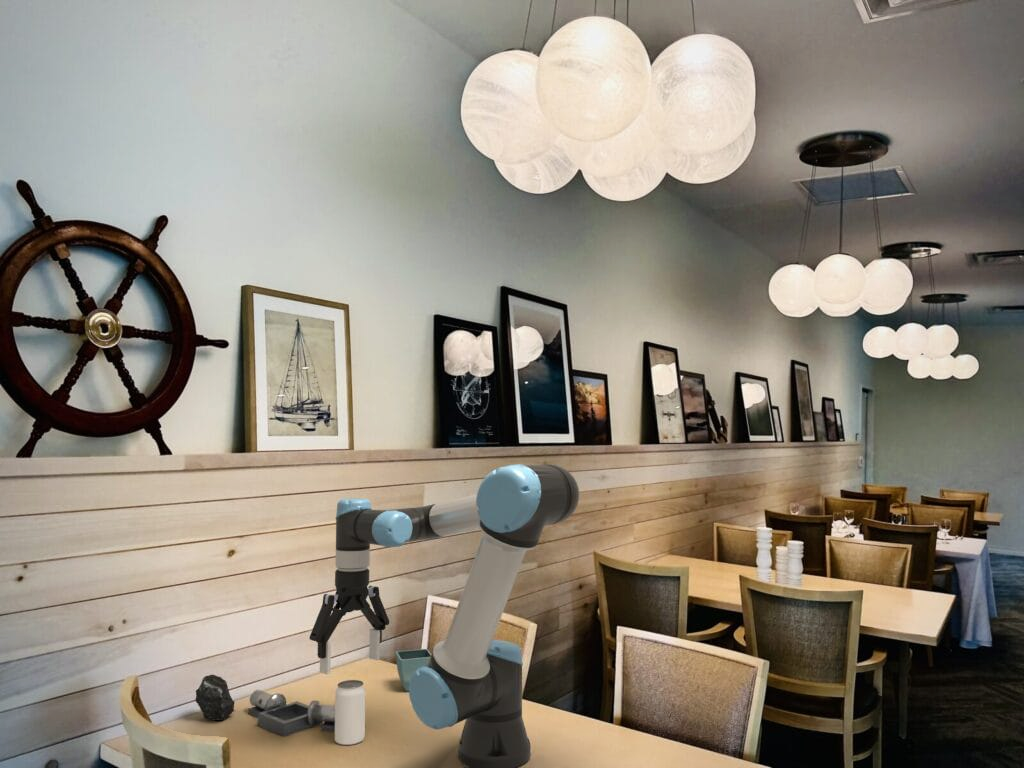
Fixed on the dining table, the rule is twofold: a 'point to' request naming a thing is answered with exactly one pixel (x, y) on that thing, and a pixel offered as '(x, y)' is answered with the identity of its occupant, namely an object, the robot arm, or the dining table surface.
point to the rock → (214, 698)
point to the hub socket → (286, 719)
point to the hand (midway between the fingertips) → (350, 665)
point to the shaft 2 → (321, 715)
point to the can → (350, 712)
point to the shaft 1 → (265, 702)
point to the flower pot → (411, 663)
